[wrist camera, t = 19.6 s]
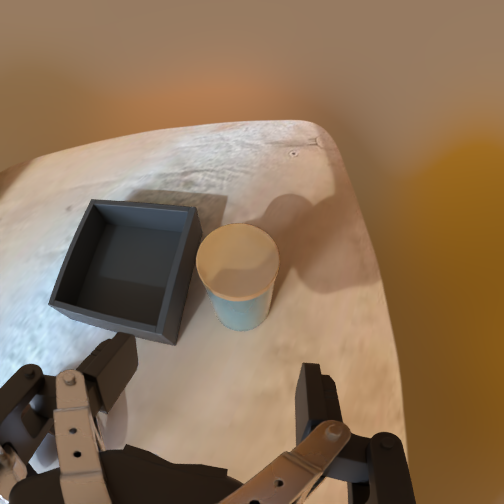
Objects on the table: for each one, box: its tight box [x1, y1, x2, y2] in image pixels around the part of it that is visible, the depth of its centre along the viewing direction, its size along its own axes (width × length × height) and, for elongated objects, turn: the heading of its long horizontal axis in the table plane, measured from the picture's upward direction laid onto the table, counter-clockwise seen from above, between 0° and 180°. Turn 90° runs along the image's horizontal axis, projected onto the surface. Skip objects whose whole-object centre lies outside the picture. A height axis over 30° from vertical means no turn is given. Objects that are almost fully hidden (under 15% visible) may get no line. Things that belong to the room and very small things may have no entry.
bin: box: [48, 199, 202, 346], centre depth 24 cm, size 11×11×4 cm
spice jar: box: [196, 223, 280, 331], centre depth 21 cm, size 5×5×8 cm
